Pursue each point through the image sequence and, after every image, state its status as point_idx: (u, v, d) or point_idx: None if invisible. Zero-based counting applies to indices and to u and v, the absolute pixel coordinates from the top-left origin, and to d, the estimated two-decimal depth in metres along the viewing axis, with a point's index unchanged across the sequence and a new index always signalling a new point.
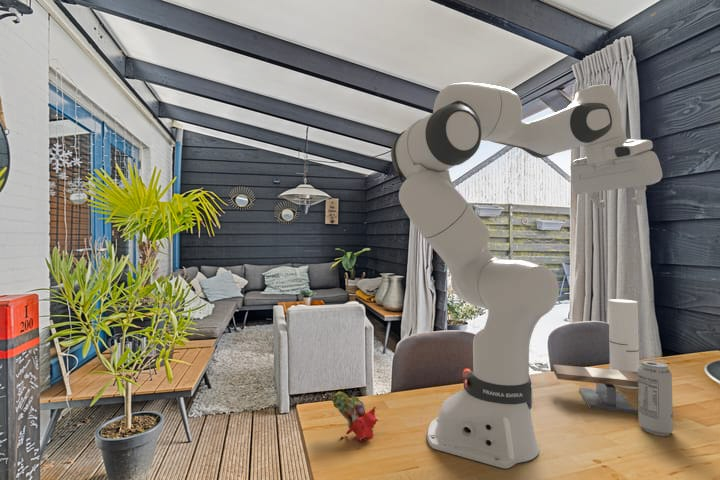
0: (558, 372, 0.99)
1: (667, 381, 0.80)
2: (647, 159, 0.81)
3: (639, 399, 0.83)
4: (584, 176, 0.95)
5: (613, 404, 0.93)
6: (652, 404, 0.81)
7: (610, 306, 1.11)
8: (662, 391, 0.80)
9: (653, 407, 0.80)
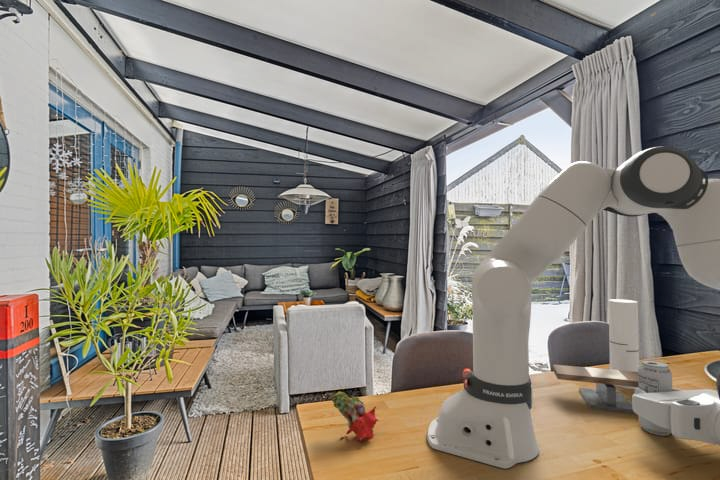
0: (558, 372, 0.99)
1: (667, 381, 0.80)
2: (656, 407, 0.72)
3: None
4: None
5: (613, 404, 0.93)
6: None
7: (610, 306, 1.11)
8: (663, 391, 0.80)
9: None
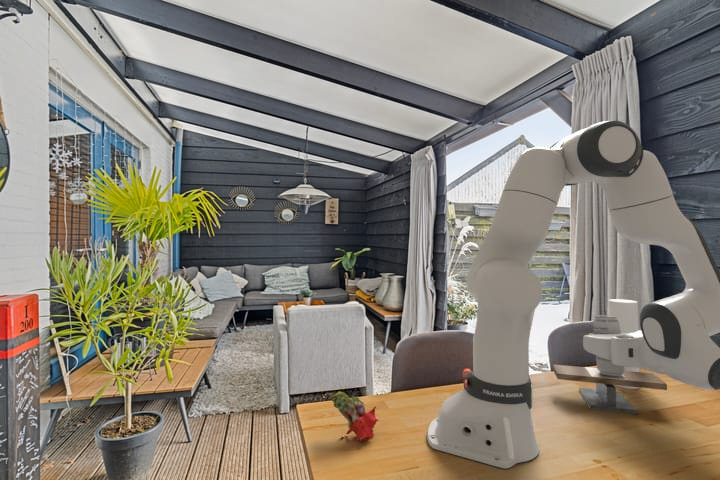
0: (558, 372, 0.99)
1: (615, 328, 0.95)
2: (600, 342, 0.87)
3: None
4: None
5: (613, 404, 0.93)
6: None
7: (610, 306, 1.11)
8: None
9: None
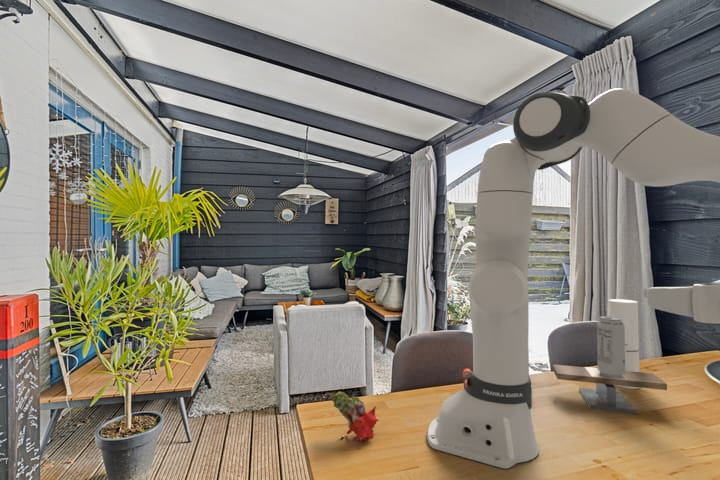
0: (558, 372, 0.99)
1: (619, 331, 0.94)
2: (676, 294, 0.64)
3: (597, 348, 0.98)
4: None
5: (613, 404, 0.93)
6: (607, 351, 0.95)
7: (610, 306, 1.11)
8: (615, 340, 0.94)
9: (607, 353, 0.94)
